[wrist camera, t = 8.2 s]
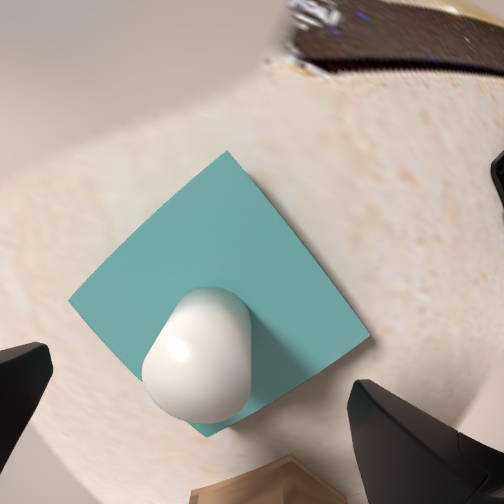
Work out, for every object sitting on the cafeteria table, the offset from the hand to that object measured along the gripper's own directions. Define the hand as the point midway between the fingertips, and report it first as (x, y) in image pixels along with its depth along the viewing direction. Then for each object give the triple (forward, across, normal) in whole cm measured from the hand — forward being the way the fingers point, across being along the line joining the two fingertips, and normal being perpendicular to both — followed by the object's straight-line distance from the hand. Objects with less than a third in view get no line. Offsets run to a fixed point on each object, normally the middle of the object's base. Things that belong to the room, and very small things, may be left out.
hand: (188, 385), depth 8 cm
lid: (+5, 0, 0) cm, 5 cm away
